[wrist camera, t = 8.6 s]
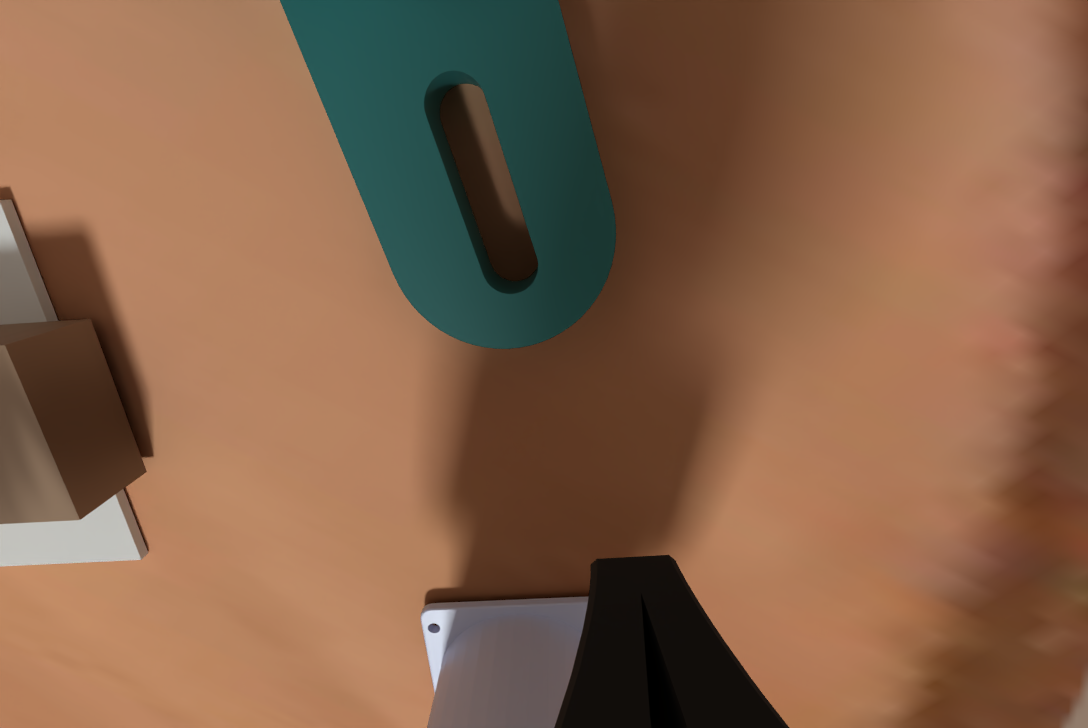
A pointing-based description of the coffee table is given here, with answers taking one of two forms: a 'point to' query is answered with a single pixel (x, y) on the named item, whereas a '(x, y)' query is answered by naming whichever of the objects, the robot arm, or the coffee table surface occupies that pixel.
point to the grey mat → (110, 530)
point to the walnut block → (60, 424)
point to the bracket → (429, 167)
